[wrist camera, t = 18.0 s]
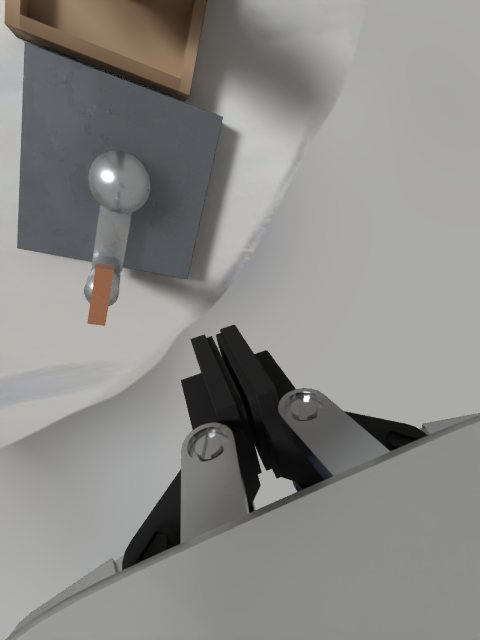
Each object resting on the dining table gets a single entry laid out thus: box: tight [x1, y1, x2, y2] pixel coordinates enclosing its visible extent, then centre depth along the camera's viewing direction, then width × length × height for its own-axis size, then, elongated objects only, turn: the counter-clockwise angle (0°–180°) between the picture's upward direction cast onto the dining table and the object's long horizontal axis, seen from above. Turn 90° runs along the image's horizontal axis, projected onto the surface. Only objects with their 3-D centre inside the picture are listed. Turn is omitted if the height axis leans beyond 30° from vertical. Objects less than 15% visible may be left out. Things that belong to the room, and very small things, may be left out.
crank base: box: [17, 43, 223, 279], centre depth 28 cm, size 15×14×2 cm
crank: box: [84, 151, 150, 326], centre depth 24 cm, size 11×4×8 cm, turn 163°
